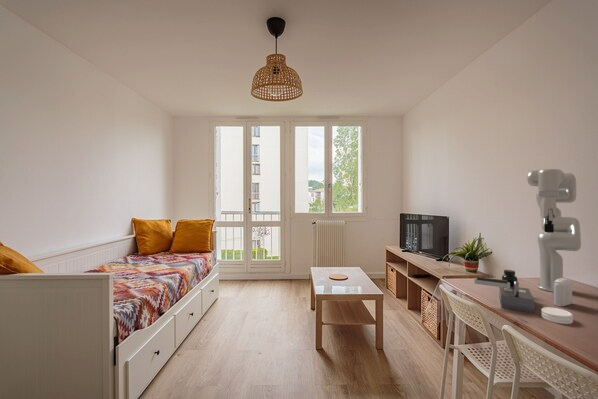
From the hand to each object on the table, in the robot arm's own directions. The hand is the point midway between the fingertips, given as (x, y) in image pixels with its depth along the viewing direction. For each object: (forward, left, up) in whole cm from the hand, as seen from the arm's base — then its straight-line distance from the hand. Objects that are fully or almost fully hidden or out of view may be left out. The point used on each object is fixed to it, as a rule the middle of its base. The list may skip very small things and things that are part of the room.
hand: (549, 232), depth 139 cm
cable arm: (+18, -24, -25) cm, 39 cm away
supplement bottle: (-7, -15, -35) cm, 38 cm away
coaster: (+23, -1, -35) cm, 42 cm away
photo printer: (0, +5, -35) cm, 35 cm away
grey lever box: (+11, -14, -34) cm, 39 cm away
